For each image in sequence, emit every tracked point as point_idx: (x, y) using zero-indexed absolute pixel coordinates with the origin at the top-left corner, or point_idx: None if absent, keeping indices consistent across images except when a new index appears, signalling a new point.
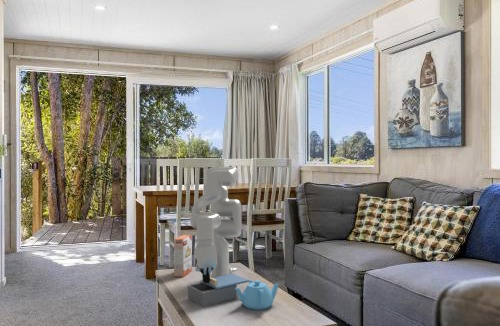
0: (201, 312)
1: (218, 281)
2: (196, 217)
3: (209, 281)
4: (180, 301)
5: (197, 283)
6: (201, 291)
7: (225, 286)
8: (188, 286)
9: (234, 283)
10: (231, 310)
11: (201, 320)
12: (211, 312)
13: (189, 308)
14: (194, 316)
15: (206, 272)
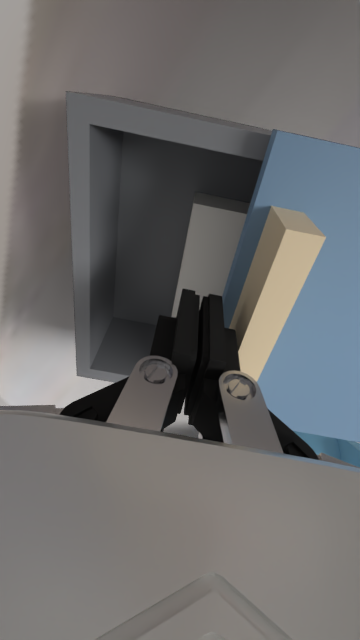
0: (58, 358)
1: (336, 336)
2: None
3: (234, 328)
4: (25, 110)
5: (214, 127)
6: (87, 348)
7: None
8: (69, 118)
9: (343, 439)
10: (173, 422)
11: (20, 405)
12: (96, 385)
13: (29, 281)
14: (10, 366)
15: (197, 406)
